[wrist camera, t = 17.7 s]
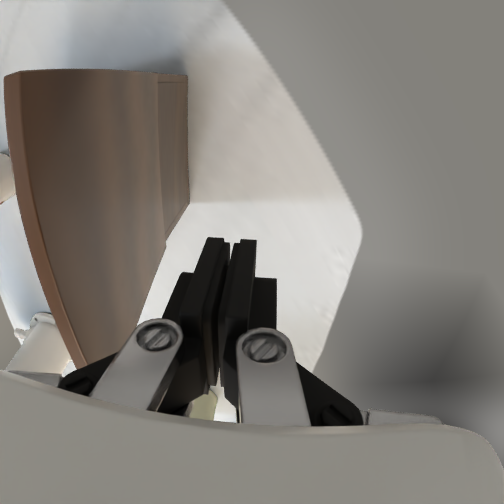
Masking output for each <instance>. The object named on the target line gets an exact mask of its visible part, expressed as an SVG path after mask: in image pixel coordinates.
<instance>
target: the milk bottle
mask: <svg viewBox="0 0 504 504" xmlns="http://www.w3.org/2000/svg"><path fill="white" fill-rule="evenodd" d="M15 191H16V190H15V185H14V180H13V174H12V168H11V162H10V158H9V156H7V155H6V154H3V153H0V204H2V203H3V202H5V201H6V200H8V199H9V198H11V197H12V196H13V194H14V193H15Z"/></svg>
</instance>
